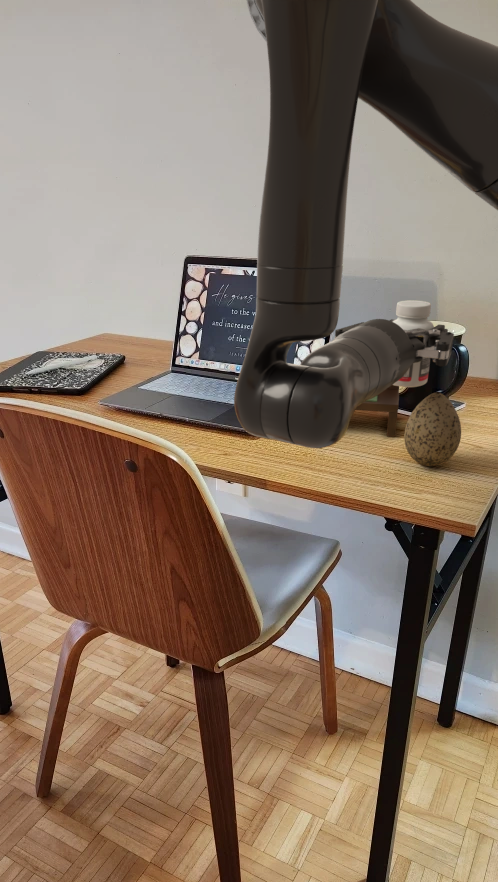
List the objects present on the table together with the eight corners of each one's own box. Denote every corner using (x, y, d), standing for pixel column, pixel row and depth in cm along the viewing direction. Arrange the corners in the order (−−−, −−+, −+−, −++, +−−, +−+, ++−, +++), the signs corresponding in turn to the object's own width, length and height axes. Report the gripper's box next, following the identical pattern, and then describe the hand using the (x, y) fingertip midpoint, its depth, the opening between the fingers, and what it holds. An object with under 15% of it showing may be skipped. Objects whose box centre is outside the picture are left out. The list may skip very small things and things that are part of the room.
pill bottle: (413, 374, 90) (422, 297, 86) (435, 386, 85) (446, 305, 81) (376, 377, 89) (383, 300, 84) (396, 390, 84) (404, 308, 80)
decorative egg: (395, 469, 91) (403, 397, 87) (407, 450, 97) (415, 382, 92) (451, 479, 88) (462, 405, 84) (460, 458, 94) (470, 388, 90)
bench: (395, 418, 108) (400, 372, 105) (395, 437, 101) (400, 388, 98) (319, 413, 111) (321, 368, 108) (313, 431, 104) (316, 383, 101)
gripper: (435, 334, 68) (480, 305, 81) (306, 319, 76) (365, 294, 88) (426, 406, 72) (471, 367, 84) (303, 385, 79) (361, 352, 92)
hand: (417, 330), depth 86 cm, fingers closed on pill bottle, 5 cm apart
